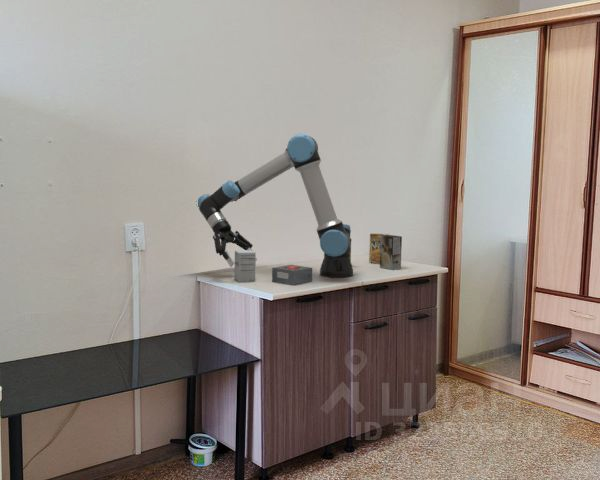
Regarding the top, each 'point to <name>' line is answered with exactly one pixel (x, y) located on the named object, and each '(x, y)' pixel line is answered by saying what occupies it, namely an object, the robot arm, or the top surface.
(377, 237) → the candy box
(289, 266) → the button
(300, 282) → the grey button housing
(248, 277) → the supplement box
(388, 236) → the coffee box
